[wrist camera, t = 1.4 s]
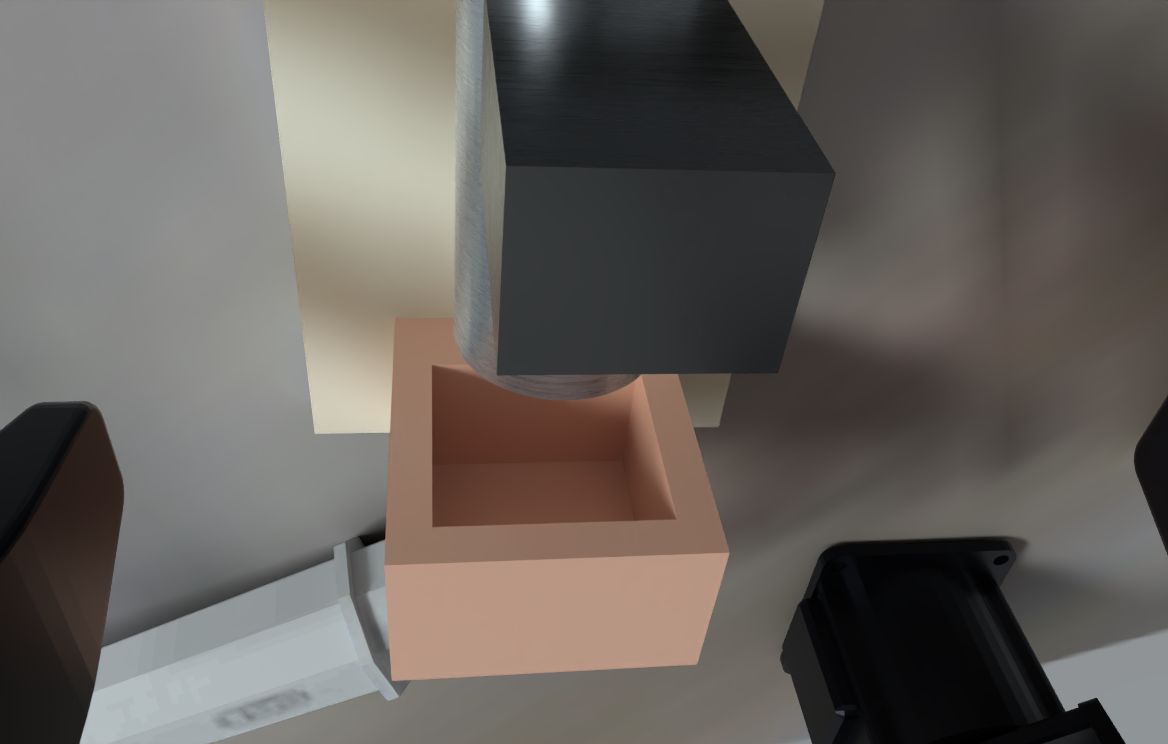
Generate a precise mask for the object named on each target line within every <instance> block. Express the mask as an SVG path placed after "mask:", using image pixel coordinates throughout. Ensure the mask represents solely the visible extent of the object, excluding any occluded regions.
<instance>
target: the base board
mask: <svg viewBox="0 0 1168 744" xmlns="http://www.w3.org/2000/svg"><path fill="white" fill-rule="evenodd" d="M728 1H729V3H730V4H731V6H732V8H733V9H734V11H735V12H736V14H737V16H738V17H739V19H740V20H741V22H742V24H743V25H744V27H745V29H746V30H747V32H748V33H749V35H750V37H751V38H752V40H753V41H754V43H755V45H756V46H757V48H758V49H759V51H760V53H761V54H762V56H763V57H764V59H765V61H766V62H767V64H768V66H769V67H770V69H771V70H772V72H773V74H774V75H775V77H776V78H777V80H778V82H779V83H780V85H781V86H782V88H783V90H784V91H785V93H786V95H787V96H788V98H789V99H790V101H791V103H792V104H793V106H794V107H795V109H796V111H797V110H798V106H799V102H800V98H801V94H802V90H803V86H804V82H805V78H806V74H807V70H808V66H809V62H810V58H811V54H812V50H813V46H814V42H815V38H816V34H817V30H818V26H819V22H820V18H821V14H822V10H823V6H824V2H825V0H728ZM263 6H264V14H265V22H266V31H267V39H268V47H269V56H270V64H271V72H272V81H273V89H274V97H275V106H276V114H277V122H278V131H279V139H280V147H281V155H282V164H283V172H284V180H285V189H286V197H287V205H288V214H289V222H290V230H291V239H292V247H293V255H294V264H295V272H296V280H297V289H298V297H299V305H300V314H301V322H302V330H303V339H304V347H305V355H306V363H307V372H308V380H309V388H310V397H311V405H312V413H313V422H314V430H315V434H328V433H387V432H390V420H391V397H392V374H393V350H394V327H395V318H454V236H455V91H456V0H263ZM731 375H732V373H730V374H678V377H679V380H680V383H681V387H682V390H683V394H684V397H685V401H686V404H687V407H688V411H689V414H690V418H691V421H692V425H693V427H719V423H720V419H721V415H722V411H723V407H724V403H725V399H726V395H727V391H728V387H729V383H730V379H731Z"/></svg>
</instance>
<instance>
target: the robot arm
mask: <svg viewBox="0 0 1168 744" xmlns="http://www.w3.org/2000/svg"><path fill="white" fill-rule="evenodd" d="M1134 465H1135V471H1136V474H1137V477H1138V479H1139V482H1140V484H1141V487H1142V490H1143V492H1144V495H1145V497H1146V500H1147V503H1148V505H1149V508H1150V510H1151V513H1152V516H1153V518H1154V521H1155V523H1156V526H1157V528H1158V531H1159V534H1160V536H1161V539H1162V541H1163V544H1164V547H1165V549H1166V552H1167V554H1168V395H1167V397H1166V399H1165V400H1164V402H1163V403H1162V405H1161V407H1160V408H1159V410H1158V411H1157V413H1156V414H1155V416H1154V418H1153V419H1152V421H1151V422H1150V424H1149V426H1148V427H1147V429H1146V430H1145V432H1144V434H1143V435H1142V437H1141V438H1140V440H1139V442H1138V444H1137V446H1136V449H1135V453H1134ZM123 505H124V485H123V478H122V474H121V471H120V468H119V465H118V462H117V459H116V456H115V452H114V449H113V446H112V443H111V440H110V437H109V434H108V431H107V428H106V425H105V422H104V419H103V416H102V414H101V412H100V410H99V409H98V408H97V406H96V405H94V404H92V403H90V402H86V401H73V402H42V403H37V404H35V405H33V406H31V407H29V408H28V409H26V410H25V411H24V412H22V413H21V414H20V415H19V416H17V417H16V418H15V419H14V420H13V421H11V422H10V423H9V424H8V425H6V426H5V427H4V428H3V429H2V430H0V744H80V740H81V737H82V733H83V730H84V726H85V723H86V719H87V716H88V712H89V708H90V704H91V700H92V696H93V692H94V688H95V683H96V678H97V672H98V666H99V661H100V655H101V649H102V642H103V636H104V629H105V623H106V616H107V610H108V603H109V597H110V590H111V584H112V577H113V571H114V564H115V558H116V551H117V545H118V538H119V532H120V525H121V519H122V512H123ZM1015 560H1016V553H1015V551H1014V550H1013V548H1012V546H1011V544H1010V543H1009V542H1007V541H1002V540H1001V541H973V542H946V543H918V544H891V545H864V546H838V547H832V548H830V549H827V550H825V551H824V552H823V553H822V554H821V555H820V557H819V559H818V561H817V564H816V566H815V569H814V572H813V574H812V577H811V579H810V582H809V584H808V587H807V590H806V592H805V595H804V597H803V599H802V601H801V602H800V603H799V605H798V606H797V609H796V612H795V614H794V617H793V619H792V622H791V625H790V627H789V630H788V632H787V635H786V638H785V640H784V643H783V646H782V648H783V652H782V654H781V657H780V661H781V664H782V667H783V670H784V671H785V672H786V673H788V674H791V677H792V680H793V684H794V687H795V690H796V693H797V696H798V700H799V703H800V706H801V709H802V712H803V716H804V719H805V722H806V725H807V728H808V732H809V735H810V738H811V741H812V744H1125V742H1124V740H1123V739H1122V737H1121V736H1120V734H1119V732H1118V731H1117V729H1116V728H1115V726H1114V725H1113V723H1112V721H1111V720H1110V718H1109V716H1108V715H1107V713H1106V712H1105V710H1104V709H1103V707H1102V705H1101V704H1100V702H1099V700H1098V699H1097V698H1094V699H1091V700H1088V701H1085V702H1082V703H1079V704H1078V708H1075V709H1073V710H1070V711H1067V712H1066V711H1065V709H1064V708H1063V706H1062V704H1061V702H1060V700H1059V699H1058V696H1057V695H1056V693H1055V691H1054V689H1053V687H1052V685H1051V683H1050V681H1049V679H1048V678H1047V676H1046V674H1045V672H1044V670H1043V668H1042V666H1041V664H1040V663H1039V661H1038V659H1037V657H1036V655H1035V653H1034V651H1033V649H1032V648H1031V646H1030V644H1029V642H1028V640H1027V638H1026V636H1025V635H1024V633H1023V631H1022V629H1021V627H1020V625H1019V623H1018V621H1017V620H1016V618H1015V616H1014V614H1013V612H1012V610H1011V608H1010V606H1009V605H1008V603H1007V601H1006V599H1005V597H1004V595H1003V593H1002V591H1001V590H1000V588H999V587H1000V585H1001V583H1002V582H1003V580H1004V578H1005V577H1006V575H1007V573H1008V571H1009V570H1010V568H1011V566H1012V565H1013V563H1014V561H1015Z"/></svg>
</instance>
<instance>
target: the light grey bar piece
mask: <svg viewBox="0 0 1168 744" xmlns="http://www.w3.org/2000/svg"><path fill="white" fill-rule="evenodd" d="M384 560H385V539H384V540H381V541H379V542H376V543H373V544H371V545H368V546H364V544H363V543H362V541H361V540H360V538H359V537H356V538H354V539H351V540H348V541H346V542H343V543H341V544H339V545H336V546H334V559H331V560H329V561H326V562H323V563H321V564H318V565H315V566H313V567H310V568H308V569H305V570H302V571H300V572H297V573H295V574H292V575H289V576H287V577H284V578H282V579H279V580H276V581H274V582H271V583H268V584H266V585H263V586H261V587H258V588H255V589H253V590H250V591H248V592H245V593H242V594H240V595H237V596H235V597H232V598H229V599H227V600H224V601H221V602H219V603H216V604H214V605H211V606H208V607H206V608H203V609H201V610H198V611H195V612H193V613H190V614H188V615H185V616H182V617H180V618H177V619H174V620H172V621H169V622H167V623H164V624H161V625H159V626H156V627H154V628H151V629H148V630H146V631H143V632H141V633H138V634H135V635H133V636H130V637H127V638H125V639H122V640H120V641H117V642H114V643H112V644H109V645H107V646H104V647H102V649H101V655H100V661H99V666H98V672H97V678H96V683H95V688H94V692H93V696H92V700H91V704H90V708H89V712H88V716H87V719H86V723H85V726H84V730H83V733H82V737H81V740H80V744H209V743H212V742H216V741H219V740H222V739H225V738H228V737H231V736H234V735H238V734H241V733H244V732H247V731H250V730H253V729H257V728H260V727H263V726H266V725H269V724H272V723H276V722H279V721H282V720H285V719H288V718H291V717H295V716H298V715H301V714H304V713H307V712H310V711H314V710H317V709H320V708H323V707H326V706H329V705H332V704H336V703H339V702H342V701H345V700H348V699H351V698H355V697H358V696H361V695H364V694H367V693H370V692H374V691H377V690H379V691H380V692H381V693H382V695H383V696H384V697H385V698H386V700H387V701H390V700H392V699H395V698H398V697H400V695H401V694H402V692H403V691H404V690H405V688H406V687H407V685H408V684H409V683H410V681H411V680H400V681H392V678H391V663H390V647H389V632H388V616H387V600H386V585H385V569H384Z"/></svg>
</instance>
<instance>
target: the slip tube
mask: <svg viewBox="0 0 1168 744" xmlns="http://www.w3.org/2000/svg"><path fill="white" fill-rule="evenodd" d="M835 174H836V173H835V172H834V170H833V169H832V167H831V165H830V164H829V162H828V161H827V159H826V157H825V156H824V154H823V152H822V151H821V149H820V148H819V146H818V144H817V143H816V141H815V140H814V138H813V136H812V135H811V133H810V132H809V130H808V128H807V127H806V125H805V123H804V122H803V120H802V119H801V117H800V115H799V114H798V112H797V111H796V109H795V107H794V106H793V104H792V103H791V101H790V99H789V98H788V96H787V95H786V93H785V91H784V90H783V88H782V86H781V85H780V83H779V82H778V80H777V78H776V77H775V75H774V74H773V72H772V70H771V69H770V67H769V66H768V64H767V62H766V61H765V59H764V57H763V56H762V54H761V53H760V51H759V49H758V48H757V46H756V45H755V43H754V41H753V40H752V38H751V37H750V35H749V33H748V32H747V30H746V29H745V27H744V25H743V24H742V22H741V20H740V19H739V17H738V16H737V14H736V12H735V11H734V9H733V8H732V6H731V4H730V3H729V1H728V0H456V91H455V236H454V338H455V343H456V345H457V348H458V350H459V352H460V354H461V356H462V357H463V359H464V360H465V361H466V362H467V364H468V365H469V366H470V367H471V368H472V369H473V370H474V371H476V372H477V373H478V374H479V375H481V376H482V377H483V378H485V379H486V380H488V381H490V382H492V383H493V384H495V385H497V386H499V387H502V388H504V389H506V390H509V391H511V392H515V393H518V394H521V395H524V396H529V397H534V398H539V399H548V400H581V399H588V398H594V397H598V396H602V395H606V394H609V393H612V392H614V391H617V390H619V389H621V388H623V387H625V386H627V385H629V384H630V383H632V382H633V381H635V380H636V379H637V378H638V377H639V376H640V375H642V374H730V373H778V371H779V367H780V364H781V360H782V357H783V354H784V350H785V347H786V343H787V340H788V336H789V333H790V329H791V326H792V322H793V319H794V316H795V312H796V309H797V305H798V302H799V298H800V295H801V291H802V288H803V284H804V281H805V278H806V274H807V271H808V267H809V264H810V260H811V257H812V253H813V250H814V246H815V243H816V240H817V236H818V233H819V229H820V226H821V222H822V219H823V215H824V212H825V208H826V205H827V202H828V198H829V195H830V191H831V188H832V184H833V181H834V177H835Z"/></svg>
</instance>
